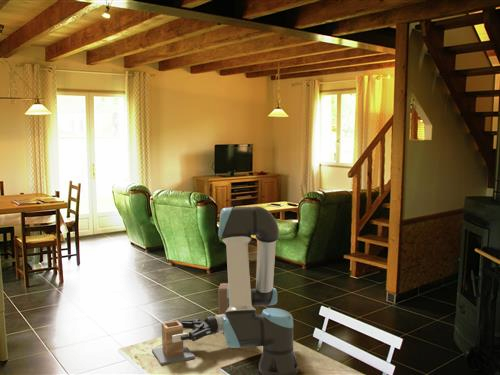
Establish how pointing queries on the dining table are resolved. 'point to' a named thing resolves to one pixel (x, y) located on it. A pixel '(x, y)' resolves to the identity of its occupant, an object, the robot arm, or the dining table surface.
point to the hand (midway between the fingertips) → (167, 333)
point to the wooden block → (222, 298)
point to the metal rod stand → (167, 360)
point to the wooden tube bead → (167, 332)
